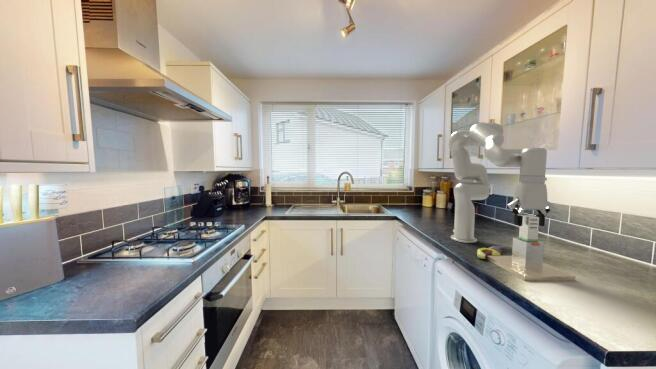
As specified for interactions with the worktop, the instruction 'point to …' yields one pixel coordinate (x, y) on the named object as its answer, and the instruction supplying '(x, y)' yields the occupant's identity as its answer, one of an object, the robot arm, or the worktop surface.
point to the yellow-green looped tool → (490, 251)
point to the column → (529, 228)
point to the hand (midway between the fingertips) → (528, 225)
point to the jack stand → (529, 263)
